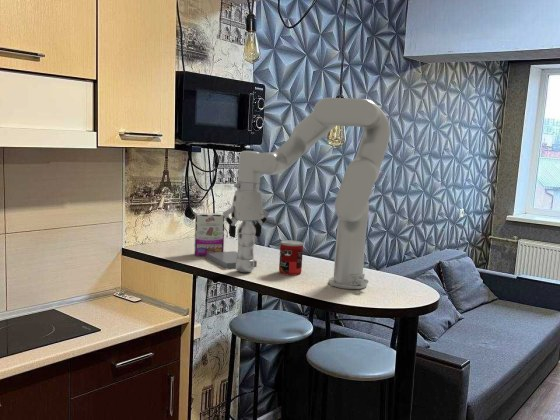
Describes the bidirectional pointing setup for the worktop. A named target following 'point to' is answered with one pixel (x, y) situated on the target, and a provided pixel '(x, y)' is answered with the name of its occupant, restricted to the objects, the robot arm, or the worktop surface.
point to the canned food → (291, 257)
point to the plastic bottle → (245, 247)
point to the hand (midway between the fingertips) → (244, 236)
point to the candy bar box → (209, 233)
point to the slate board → (225, 259)
